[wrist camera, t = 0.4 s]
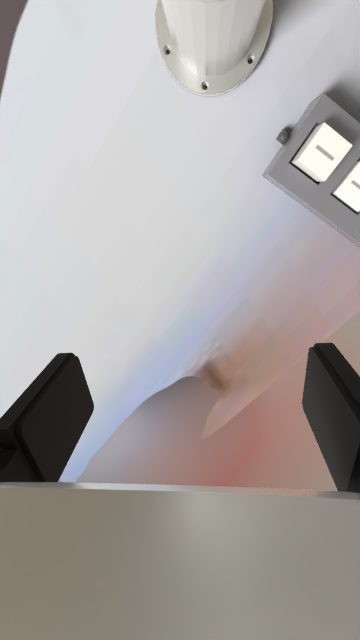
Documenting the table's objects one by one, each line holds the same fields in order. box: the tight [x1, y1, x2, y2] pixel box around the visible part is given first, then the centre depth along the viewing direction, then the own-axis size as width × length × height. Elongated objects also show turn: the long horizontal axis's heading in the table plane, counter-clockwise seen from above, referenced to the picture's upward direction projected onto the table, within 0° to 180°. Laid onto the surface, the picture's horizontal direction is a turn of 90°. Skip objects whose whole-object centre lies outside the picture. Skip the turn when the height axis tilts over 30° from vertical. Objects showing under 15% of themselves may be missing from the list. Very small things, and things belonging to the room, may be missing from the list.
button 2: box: [292, 122, 353, 181], centre depth 30 cm, size 4×4×3 cm
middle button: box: [330, 161, 360, 212], centre depth 33 cm, size 4×4×3 cm
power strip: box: [262, 93, 360, 247], centre depth 34 cm, size 21×9×4 cm, turn 59°
